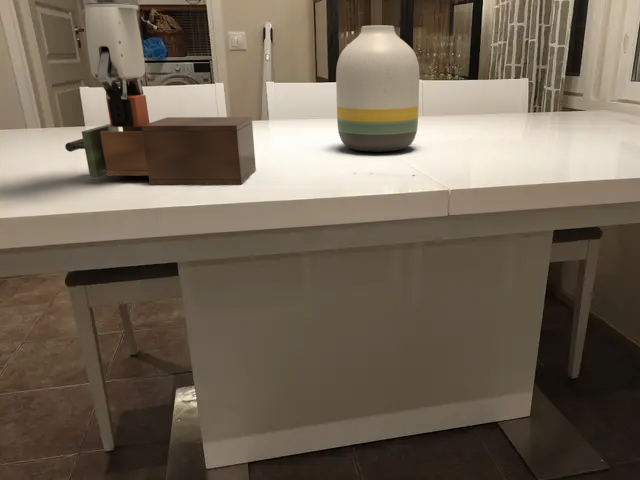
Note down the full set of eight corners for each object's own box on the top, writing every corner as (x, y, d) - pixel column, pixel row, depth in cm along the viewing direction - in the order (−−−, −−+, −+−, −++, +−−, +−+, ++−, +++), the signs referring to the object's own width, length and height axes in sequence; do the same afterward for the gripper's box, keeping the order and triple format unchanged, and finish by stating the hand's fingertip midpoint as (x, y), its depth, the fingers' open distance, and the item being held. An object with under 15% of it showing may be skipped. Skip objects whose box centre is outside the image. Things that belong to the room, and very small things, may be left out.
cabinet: (149, 184, 88) (140, 125, 84) (173, 170, 99) (166, 117, 95) (241, 184, 88) (236, 125, 84) (255, 170, 98) (251, 117, 95)
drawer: (63, 178, 88) (54, 131, 86) (94, 166, 98) (86, 123, 95) (174, 178, 88) (168, 131, 85) (194, 165, 98) (189, 123, 95)
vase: (326, 154, 113) (322, 25, 105) (352, 142, 129) (350, 28, 120) (407, 157, 109) (410, 23, 100) (424, 144, 124) (428, 27, 115)
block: (110, 127, 88) (105, 97, 86) (122, 123, 92) (118, 95, 91) (139, 126, 88) (134, 97, 86) (149, 123, 92) (145, 95, 91)
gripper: (110, 3, 91) (128, 118, 98) (55, -6, 76) (82, 131, 82) (155, 3, 91) (170, 118, 98) (110, -7, 75) (132, 131, 82)
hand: (130, 122), depth 90 cm, fingers closed on block, 4 cm apart
